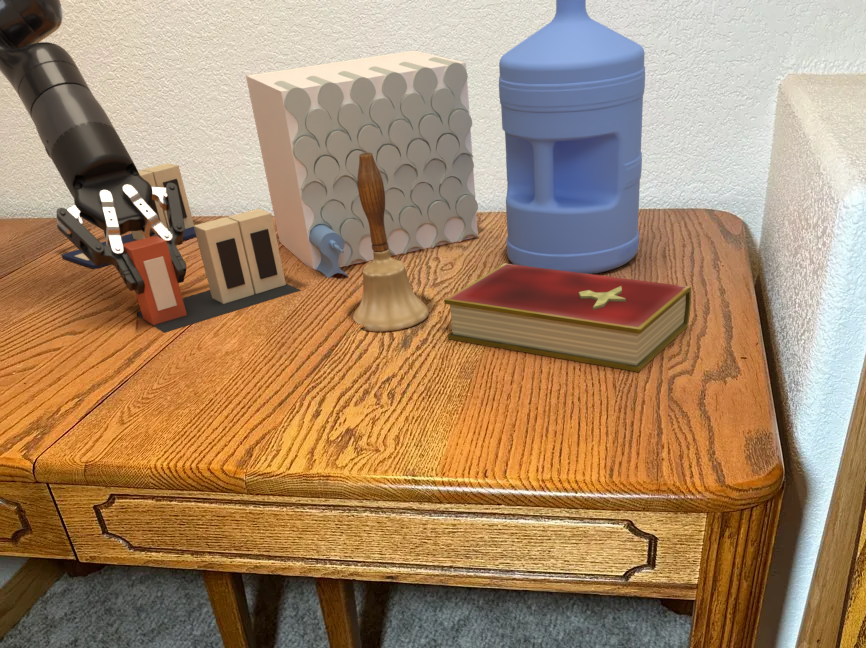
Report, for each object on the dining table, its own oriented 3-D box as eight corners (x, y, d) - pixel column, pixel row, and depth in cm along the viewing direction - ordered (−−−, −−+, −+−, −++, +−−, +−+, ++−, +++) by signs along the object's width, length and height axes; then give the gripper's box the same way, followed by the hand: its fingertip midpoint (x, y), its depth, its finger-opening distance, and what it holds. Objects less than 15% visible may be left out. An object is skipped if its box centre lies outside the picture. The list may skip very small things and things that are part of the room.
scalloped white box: (336, 291, 106) (303, 99, 93) (279, 241, 123) (245, 73, 110) (506, 252, 112) (497, 68, 100) (430, 210, 129) (414, 48, 117)
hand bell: (372, 338, 94) (346, 168, 83) (340, 316, 99) (312, 154, 89) (442, 318, 96) (426, 152, 86) (407, 297, 102) (388, 139, 92)
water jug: (547, 232, 117) (541, -37, 99) (659, 244, 110) (675, -43, 92) (482, 270, 108) (463, -21, 90) (601, 286, 100) (606, -26, 83)
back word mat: (94, 269, 119) (71, 199, 114) (62, 258, 124) (38, 191, 119) (209, 232, 129) (192, 166, 123) (174, 223, 134) (157, 160, 128)
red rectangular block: (154, 326, 100) (131, 250, 95) (143, 318, 102) (120, 244, 97) (188, 315, 101) (167, 240, 96) (176, 308, 103) (155, 235, 98)
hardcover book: (508, 299, 100) (505, 259, 97) (689, 325, 90) (692, 282, 87) (447, 338, 92) (443, 296, 89) (638, 371, 83) (640, 326, 80)
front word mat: (165, 337, 98) (141, 255, 93) (134, 316, 104) (109, 239, 99) (301, 294, 106) (286, 216, 100) (265, 277, 111) (249, 203, 106)
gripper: (14, 133, 91) (98, 282, 91) (148, 107, 97) (226, 247, 98) (20, 182, 98) (98, 321, 98) (144, 155, 104) (217, 286, 104)
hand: (161, 283), depth 98 cm, fingers closed on red rectangular block, 4 cm apart
